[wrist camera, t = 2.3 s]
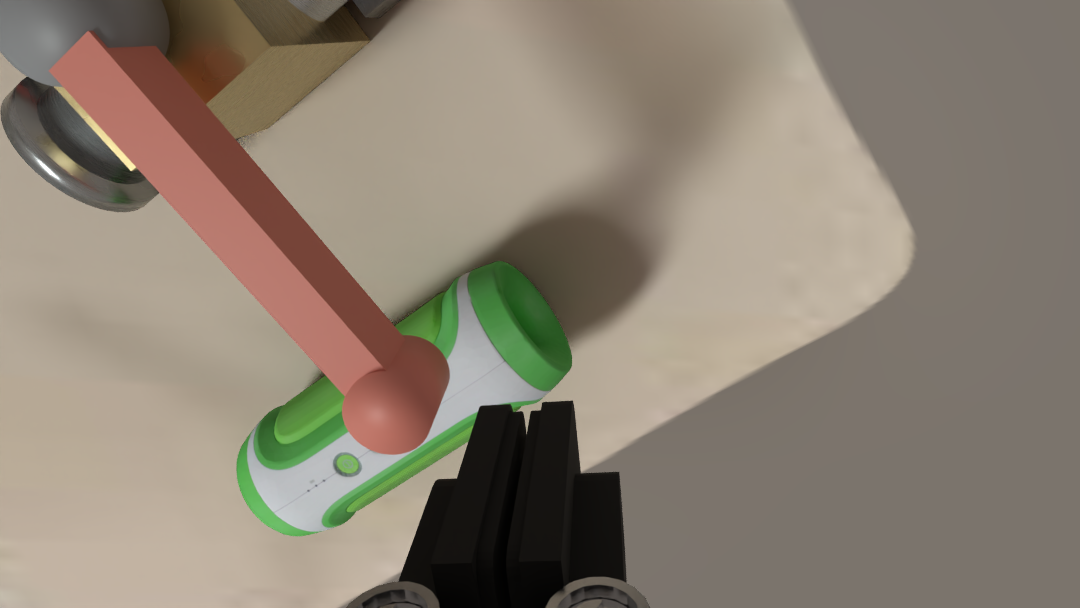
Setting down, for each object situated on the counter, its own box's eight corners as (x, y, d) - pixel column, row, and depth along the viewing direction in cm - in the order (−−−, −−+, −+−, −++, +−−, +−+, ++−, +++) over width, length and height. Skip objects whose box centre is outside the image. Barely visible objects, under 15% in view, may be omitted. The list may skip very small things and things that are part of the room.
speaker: (349, 485, 42) (302, 575, 35) (266, 401, 41) (200, 478, 34) (580, 337, 38) (578, 407, 31) (498, 233, 36) (476, 283, 29)
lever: (401, 418, 27) (375, 473, 24) (36, 7, 22) (-62, 4, 19) (473, 372, 26) (456, 422, 23) (107, -68, 21) (18, -86, 18)
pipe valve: (193, 191, 36) (36, 256, 26) (91, 76, 34) (-122, 98, 24) (460, -37, 31) (397, -68, 21) (358, -184, 29) (234, -299, 19)
